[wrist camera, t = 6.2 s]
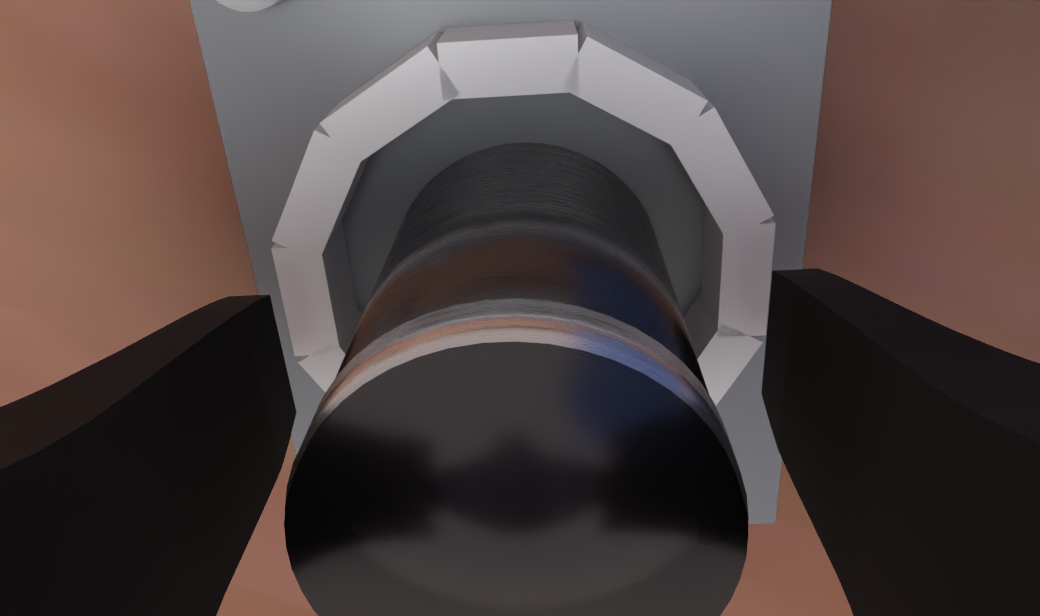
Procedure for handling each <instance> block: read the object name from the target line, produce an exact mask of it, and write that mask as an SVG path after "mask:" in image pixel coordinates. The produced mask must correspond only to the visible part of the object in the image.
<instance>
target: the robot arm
mask: <svg viewBox="0 0 1040 616" xmlns="http://www.w3.org/2000/svg"><path fill="white" fill-rule="evenodd" d="M761 394H762V397H763V401H764V405H765V408H766V412H767V415H768V419H769V422H770V426H771V429H772V432H773V435H774V438H775V442H776V445H777V448H778V451H779V453H780V455H781V457H782V460H783V462H784V464H785V466H786V468H787V470H788V473H789V475H790V477H791V479H792V481H793V483H794V485H795V488H796V490H797V492H798V494H799V496H800V498H801V500H802V502H803V505H804V507H805V509H806V511H807V513H808V515H809V517H810V519H811V521H812V523H813V525H814V528H815V530H816V532H817V534H818V536H819V538H820V540H821V542H822V544H823V546H824V548H825V551H826V553H827V555H828V557H829V559H830V561H831V563H832V565H833V567H834V569H835V572H836V574H837V576H838V578H839V580H840V583H841V585H842V588H843V590H844V592H845V595H846V597H847V600H848V602H849V604H850V607H851V610H852V613H853V615H854V616H1040V364H1039V363H1036V362H1033V361H1030V360H1027V359H1024V358H1022V357H1019V356H1016V355H1014V354H1011V353H1008V352H1005V351H1003V350H1000V349H998V348H995V347H993V346H990V345H988V344H985V343H983V342H981V341H978V340H976V339H973V338H971V337H969V336H966V335H964V334H961V333H959V332H956V331H954V330H952V329H950V328H947V327H945V326H943V325H941V324H938V323H936V322H934V321H932V320H930V319H927V318H925V317H923V316H921V315H919V314H917V313H915V312H912V311H910V310H908V309H906V308H904V307H902V306H900V305H898V304H896V303H894V302H892V301H890V300H887V299H885V298H883V297H881V296H879V295H877V294H875V293H873V292H871V291H869V290H867V289H865V288H863V287H861V286H859V285H856V284H854V283H852V282H850V281H848V280H846V279H843V278H841V277H839V276H837V275H834V274H832V273H829V272H826V271H823V270H820V269H796V270H775V271H772V280H771V291H770V302H769V313H768V325H767V336H766V347H765V358H764V369H763V380H762V391H761ZM296 413H297V412H296V408H295V403H294V399H293V395H292V390H291V386H290V381H289V377H288V372H287V368H286V364H285V359H284V355H283V350H282V346H281V342H280V337H279V333H278V328H277V324H276V320H275V315H274V311H273V306H272V302H271V297H270V295H252V296H231V297H226V298H223V299H220V300H217V301H215V302H213V303H210V304H208V305H206V306H204V307H202V308H200V309H198V310H196V311H193V312H192V313H190V314H188V315H186V316H184V317H182V318H180V319H178V320H176V321H174V322H172V323H171V324H169V325H167V326H165V327H163V328H161V329H159V330H158V331H156V332H154V333H152V334H150V335H148V336H146V337H145V338H143V339H141V340H139V341H137V342H135V343H133V344H132V345H130V346H128V347H126V348H124V349H122V350H120V351H118V352H117V353H115V354H113V355H111V356H109V357H107V358H105V359H103V360H101V361H99V362H97V363H95V364H93V365H91V366H89V367H86V368H84V369H82V370H80V371H78V372H76V373H74V374H72V375H70V376H68V377H66V378H64V379H62V380H60V381H58V382H56V383H54V384H52V385H50V386H48V387H46V388H44V389H41V390H39V391H37V392H35V393H33V394H30V395H28V396H26V397H23V398H21V399H19V400H17V401H14V402H12V403H9V404H7V405H4V406H2V407H0V616H216V615H217V612H218V610H219V607H220V605H221V602H222V600H223V597H224V595H225V592H226V590H227V588H228V586H229V584H230V581H231V579H232V577H233V575H234V573H235V571H236V568H237V566H238V564H239V562H240V560H241V557H242V555H243V553H244V551H245V549H246V546H247V544H248V542H249V540H250V538H251V536H252V533H253V531H254V529H255V527H256V525H257V522H258V520H259V518H260V516H261V514H262V511H263V509H264V507H265V505H266V502H267V500H268V498H269V496H270V493H271V491H272V489H273V487H274V484H275V482H276V480H277V477H278V475H279V473H280V470H281V468H282V464H283V461H284V458H285V454H286V451H287V447H288V444H289V440H290V436H291V432H292V428H293V424H294V420H295V417H296Z"/></svg>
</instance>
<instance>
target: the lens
mask: <svg viewBox="0 0 1040 616" xmlns="http://www.w3.org/2000/svg"><path fill="white" fill-rule="evenodd" d="M748 522H749V516H748V505H747V494H746V491H745V487H744V483H743V479H742V475H741V472H740V469H739V466H738V463H737V460H736V457H735V454H734V451H733V449H732V446H731V443H730V440H729V437H728V434H727V431H726V428H725V425H724V423H723V421H722V419H721V416H720V414H719V412H718V410H717V408H716V405H715V403H714V401H713V400H712V398H711V397H710V395H709V393H708V390H707V387H706V384H705V381H704V378H703V375H702V372H701V369H700V366H699V363H698V360H697V357H696V354H695V351H694V348H693V345H692V342H691V339H690V336H689V333H688V330H687V327H686V324H685V321H684V318H683V315H682V313H681V310H680V307H679V304H678V301H677V298H676V295H675V292H674V289H673V286H672V283H671V280H670V277H669V274H668V271H667V268H666V265H665V262H664V259H663V256H662V253H661V250H660V247H659V244H658V241H657V238H656V235H655V232H654V229H653V227H652V224H651V222H650V220H649V217H648V215H647V213H646V211H645V209H644V208H643V206H642V204H641V203H640V201H639V200H638V198H637V196H636V195H635V194H634V193H633V192H632V190H631V189H630V188H629V187H628V186H627V185H626V183H625V182H623V181H622V180H621V179H620V178H619V177H618V176H617V175H616V174H615V173H613V172H612V171H611V170H609V169H608V168H606V167H605V166H603V165H602V164H600V163H599V162H597V161H595V160H593V159H591V158H589V157H587V156H585V155H583V154H581V153H579V152H576V151H573V150H570V149H567V148H564V147H559V146H554V145H550V144H542V143H529V142H525V143H508V144H503V145H498V146H492V147H488V148H485V149H482V150H479V151H476V152H473V153H471V154H469V155H467V156H465V157H463V158H461V159H458V160H457V161H455V162H454V163H452V164H450V165H449V166H447V167H446V168H444V169H443V170H442V171H440V172H439V173H438V174H437V175H436V176H435V177H433V178H432V179H431V180H430V181H429V182H428V183H427V184H426V185H425V187H424V188H423V189H422V190H421V191H420V192H419V194H418V195H417V196H416V198H415V199H414V201H413V203H412V204H411V206H410V207H409V209H408V211H407V213H406V215H405V218H404V220H403V222H402V224H401V227H400V229H399V231H398V234H397V236H396V238H395V240H394V243H393V245H392V247H391V250H390V252H389V254H388V257H387V259H386V261H385V264H384V266H383V268H382V271H381V273H380V275H379V278H378V280H377V282H376V285H375V287H374V289H373V292H372V294H371V296H370V299H369V301H368V303H367V306H366V308H365V310H364V313H363V315H362V317H361V319H360V322H359V324H358V326H357V329H356V331H355V333H354V336H353V338H352V340H351V343H350V345H349V347H348V350H347V352H346V354H345V357H344V359H343V361H342V364H341V366H340V368H339V371H338V373H337V375H336V378H335V379H334V381H333V382H332V384H331V385H330V387H329V388H328V390H327V391H326V393H325V394H324V396H323V397H322V400H321V402H320V404H319V406H318V408H317V411H316V413H315V415H314V417H313V419H312V422H311V424H310V426H309V428H308V431H307V433H306V435H305V438H304V440H303V442H302V444H301V447H300V449H299V451H298V453H297V456H296V458H295V460H294V463H293V466H292V470H291V473H290V477H289V481H288V485H287V492H286V504H285V521H284V527H285V538H286V548H287V552H288V555H289V559H290V563H291V567H292V570H293V572H294V575H295V577H296V579H297V582H298V584H299V586H300V588H301V590H302V592H303V594H304V595H305V597H306V598H307V600H308V602H309V603H310V605H311V607H312V608H313V610H314V611H315V612H316V613H317V615H318V616H720V615H721V614H722V612H723V610H724V609H725V607H726V606H727V604H728V603H729V601H730V600H731V598H732V596H733V593H734V591H735V589H736V587H737V584H738V582H739V580H740V577H741V574H742V570H743V566H744V562H745V559H746V553H747V542H748Z"/></svg>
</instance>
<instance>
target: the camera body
mask: <svg viewBox="0 0 1040 616" xmlns="http://www.w3.org/2000/svg"><path fill="white" fill-rule="evenodd" d="M831 2H832V0H190V4H191V8H192V12H193V17H194V21H195V25H196V29H197V34H198V38H199V42H200V46H201V51H202V55H203V59H204V64H205V68H206V72H207V76H208V81H209V85H210V89H211V94H212V98H213V102H214V106H215V111H216V115H217V119H218V123H219V128H220V132H221V136H222V141H223V145H224V149H225V153H226V158H227V162H228V166H229V171H230V175H231V179H232V183H233V188H234V192H235V196H236V200H237V205H238V209H239V213H240V218H241V222H242V226H243V230H244V235H245V239H246V243H247V248H248V252H249V256H250V260H251V265H252V269H253V273H254V277H255V282H256V286H257V290H258V295H270V297H271V302H272V306H273V311H274V315H275V320H276V324H277V328H278V333H279V337H280V342H281V346H282V350H283V355H284V359H285V364H286V368H287V372H288V377H289V381H290V386H291V390H292V395H293V399H294V403H295V408H296V412H297V413H296V417H295V420H294V424H293V428H292V432H291V436H292V440H293V444H294V449H295V453H296V456H297V453H298V451H299V449H300V447H301V444H302V442H303V440H304V438H305V435H306V433H307V431H308V428H309V426H310V424H311V422H312V419H313V417H314V415H315V413H316V411H317V408H318V406H319V404H320V402H321V400H322V397H323V396H324V394H325V393H326V391H327V390H328V388H329V387H330V385H331V384H332V382H333V381H334V379H335V378H336V375H337V373H338V371H339V368H340V366H341V364H342V361H343V359H344V357H345V354H346V352H347V350H348V347H349V345H350V343H351V340H352V338H353V336H354V333H355V331H356V329H357V326H358V324H359V322H360V319H361V317H362V315H363V313H364V310H365V308H366V306H367V303H368V301H369V299H370V296H371V294H372V292H373V289H374V287H375V285H376V282H377V280H378V278H379V275H380V273H381V271H382V268H383V266H384V264H385V261H386V259H387V257H388V254H389V252H390V250H391V247H392V245H393V243H394V240H395V238H396V236H397V234H398V231H399V229H400V227H401V224H402V222H403V220H404V218H405V215H406V213H407V211H408V209H409V207H410V206H411V204H412V203H413V201H414V199H415V198H416V196H417V195H418V194H419V192H420V191H421V190H422V189H423V188H424V187H425V185H426V184H427V183H428V182H429V181H430V180H431V179H432V178H433V177H435V176H436V175H437V174H438V173H439V172H440V171H442V170H443V169H444V168H446V167H447V166H449V165H450V164H452V163H454V162H455V161H457V160H458V159H461V158H463V157H465V156H467V155H469V154H471V153H473V152H476V151H479V150H482V149H485V148H488V147H492V146H498V145H503V144H508V143H525V142H529V143H542V144H550V145H554V146H559V147H564V148H567V149H570V150H573V151H576V152H579V153H581V154H583V155H585V156H587V157H589V158H591V159H593V160H595V161H597V162H599V163H600V164H602V165H603V166H605V167H606V168H608V169H609V170H611V171H612V172H613V173H615V174H616V175H617V176H618V177H619V178H620V179H621V180H622V181H623V182H625V183H626V185H627V186H628V187H629V188H630V189H631V190H632V192H633V193H634V194H635V195H636V196H637V198H638V200H639V201H640V203H641V204H642V206H643V208H644V209H645V211H646V213H647V215H648V217H649V220H650V222H651V224H652V227H653V229H654V232H655V235H656V238H657V241H658V244H659V247H660V250H661V253H662V256H663V259H664V262H665V265H666V268H667V271H668V274H669V277H670V280H671V283H672V286H673V289H674V292H675V295H676V298H677V301H678V304H679V307H680V310H681V313H682V315H683V318H684V321H685V324H686V327H687V330H688V333H689V336H690V339H691V342H692V345H693V348H694V351H695V354H696V357H697V360H698V363H699V366H700V369H701V372H702V375H703V378H704V381H705V384H706V387H707V390H708V393H709V395H710V397H711V398H712V400H713V401H714V403H715V405H716V408H717V410H718V412H719V414H720V416H721V419H722V421H723V423H724V425H725V428H726V431H727V434H728V437H729V440H730V443H731V446H732V449H733V451H734V454H735V457H736V460H737V463H738V466H739V469H740V472H741V475H742V479H743V483H744V487H745V491H746V494H747V505H748V516H749V522H748V524H765V523H775V519H776V510H777V500H778V491H779V482H780V473H781V463H782V457H781V455H780V453H779V451H778V448H777V445H776V442H775V438H774V435H773V432H772V429H771V426H770V422H769V419H768V415H767V412H766V408H765V405H764V401H763V397H762V394H761V391H762V380H763V369H764V358H765V347H766V336H767V325H768V313H769V302H770V291H771V280H772V271H775V270H796V269H803V261H804V251H805V242H806V233H807V224H808V214H809V205H810V196H811V187H812V178H813V168H814V159H815V150H816V141H817V131H818V122H819V113H820V104H821V95H822V85H823V76H824V67H825V58H826V48H827V39H828V30H829V21H830V12H831Z"/></svg>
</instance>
